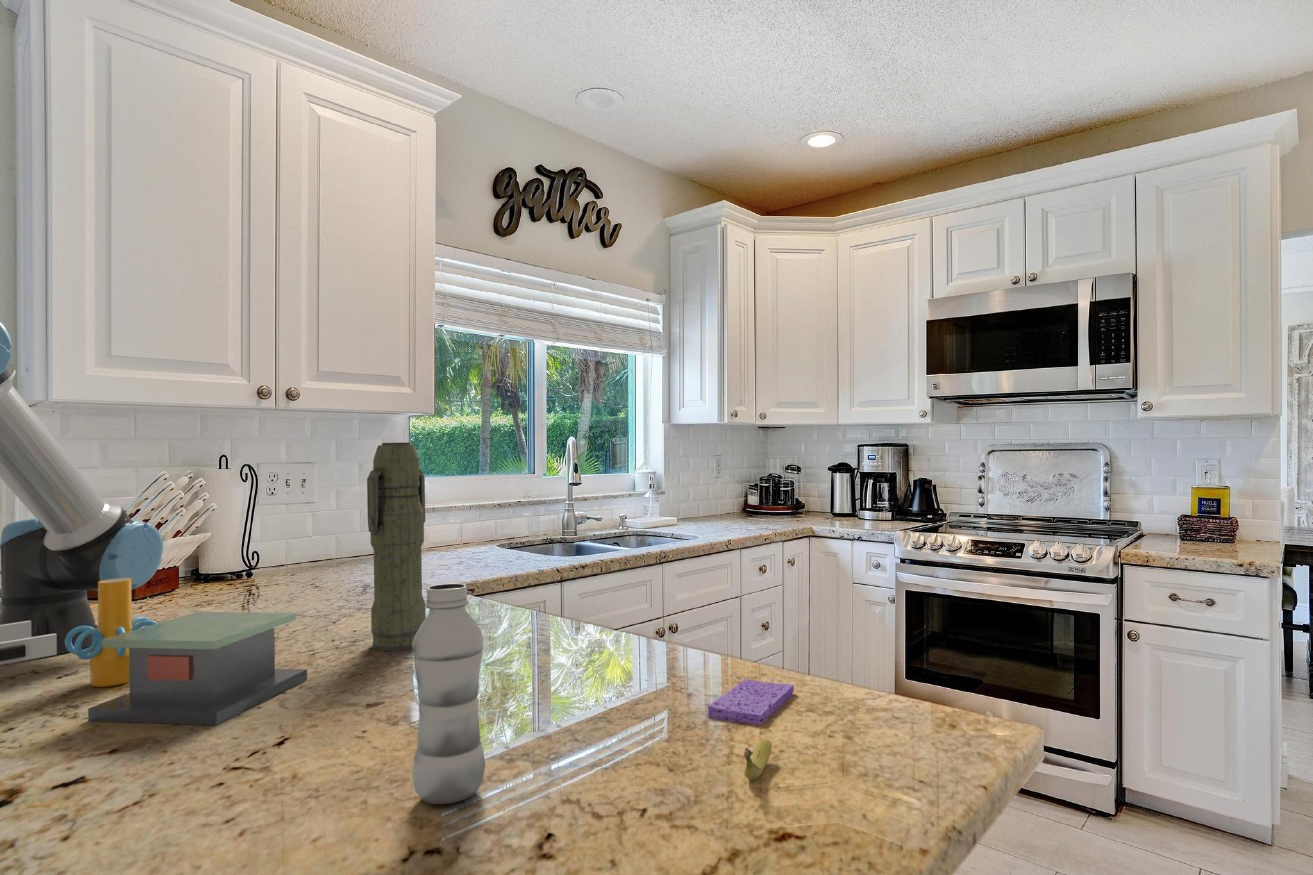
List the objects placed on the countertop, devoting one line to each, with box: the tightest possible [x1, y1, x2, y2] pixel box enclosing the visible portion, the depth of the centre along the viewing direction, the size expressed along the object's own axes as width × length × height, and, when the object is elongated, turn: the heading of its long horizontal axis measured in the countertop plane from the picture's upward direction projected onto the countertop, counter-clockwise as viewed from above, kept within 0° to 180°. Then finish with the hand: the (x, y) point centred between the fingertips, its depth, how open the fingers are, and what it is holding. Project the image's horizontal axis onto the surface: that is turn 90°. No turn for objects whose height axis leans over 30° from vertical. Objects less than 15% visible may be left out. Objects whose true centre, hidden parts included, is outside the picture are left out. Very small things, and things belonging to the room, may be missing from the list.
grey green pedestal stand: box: [87, 611, 308, 726], centre depth 100 cm, size 18×18×10 cm
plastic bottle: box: [411, 582, 486, 805], centre depth 70 cm, size 6×7×20 cm
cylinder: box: [65, 578, 158, 688], centre depth 109 cm, size 12×10×15 cm
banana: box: [743, 739, 773, 781], centre depth 73 cm, size 8×2×4 cm, turn 160°
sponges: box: [707, 678, 795, 726], centre depth 93 cm, size 7×13×2 cm, turn 152°
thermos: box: [366, 442, 427, 652], centre depth 127 cm, size 9×12×35 cm
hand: (43, 636), depth 102 cm, fingers open, 13 cm apart
